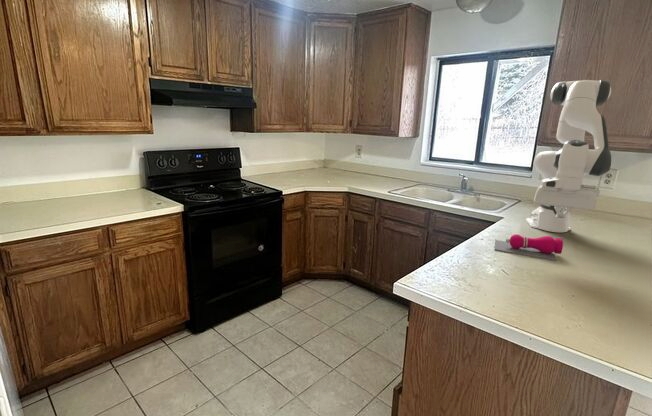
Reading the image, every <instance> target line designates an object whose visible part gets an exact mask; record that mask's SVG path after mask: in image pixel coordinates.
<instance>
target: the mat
mask: <svg viewBox="0 0 652 416" xmlns="http://www.w3.org/2000/svg"><path fill="white" fill-rule="evenodd" d="M494 251H496V252H502V253H507V254H513V255H520V256H524V257H529V258H536V259H541V260H545V261H552V262H557V257H556V253H555V252H552V253H550V254H547V253H543V252H541V251H539V250H537V249H534V248H526V249H525V248H522V247H521V248H519V249H515V248H513V247H511V245H510V242H509V243H507V242H506V240H504V241H503V240H498V239H495V243H494Z"/></svg>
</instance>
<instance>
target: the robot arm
mask: <svg viewBox="0 0 652 416" xmlns="http://www.w3.org/2000/svg"><path fill="white" fill-rule="evenodd" d="M611 94H612V87H611V82H609V81H608V80H601V79H600V80H594V79H593V80H592V79H582V80H573V81H560V82H557V83H555V84H554V86H553V87H552V89H551V91H550V94H549V95H550V96H549V97H550V101H551V103H552V104H553V105H555V106H559V107H560V106H563V107H562V110H561V112H560V116H559V120H558V125H557V130H556V136H555V138H556V140H557V141H558V142H559V143H560V144H563V146H562V148H561V149H559V150H558V151H557V150H545V151H540V152H538V153H537V155H536V156H535V157H534V159H533V165H534V168H535V170H536V171H537V172H539V174H540V175H541V176H542V178H543V179H541V182H540V185H539V186H538V187H537V188H536V190H535V194H534V198H533V202H534V203H535V204H536V205H540V206H538V207H537V208H536V209H534V210H533V211H532V212H530V214H529V216H530V217H526V218H525V222H527V224H528V225H529V226H530V227H531V228H534V229H540V230H543V231H546V232H553V233H566V232H569V231H571V229H572V228H571V227H570V219H571V213H570V212H571V210H572V209H576V210H583V211H584V210H585V211H594V210H596V208H597V199H598V197H599V195H600V191H601V190H600V188H599V187H597V186H596V185H588V184H583V181H584V177H585V176H593V177H601V176H603V175H606V173H608V172H610V169H611V167H612V165H613V157H612V153H611V150H610V145H609V144H610V143H609V136H608V128H607V123H606V118H605V116H604V115H603V114H600V113H599V112H598V111H599V110H597V107H599V106H602V105H603V104H605V103H606V102H607V101H608V100H609V99H610V96H611ZM586 132H588V133H589V134H591V135H592V136H593V137H592V138H593V145H594V149H589V148H590V147H589V143H588V142H587V141H585V138H586V137H585V136H586Z"/></svg>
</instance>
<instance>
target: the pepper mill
mask: <svg viewBox="0 0 652 416" xmlns="http://www.w3.org/2000/svg"><path fill="white" fill-rule="evenodd" d="M505 242H507V243H509V242H510V245H511V247H513V248H515V249H519V248H521V247H522V248H525V249H526V248H534V249H537V250H539V251H541V252H543V253H547V254H550V253H552V252H554V254H555V255H556V254H557V255H560V254H562V253H563V248H564V241H563V238H559V237H556V238H554V237H553V236H550V235H545V236H541V237H528V236H525V235H524V236H522V235H520V234H513V235H511V237H510V238H506V239H505Z"/></svg>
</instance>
